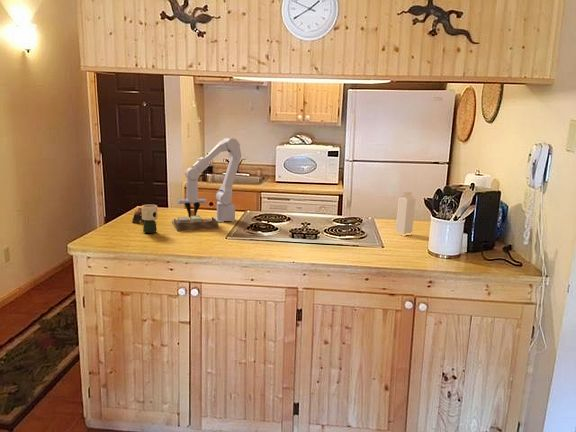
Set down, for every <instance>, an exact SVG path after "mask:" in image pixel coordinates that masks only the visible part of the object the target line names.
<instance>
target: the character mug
mask: <svg viewBox="0 0 576 432" xmlns="http://www.w3.org/2000/svg"><path fill="white" fill-rule="evenodd" d="M141 208H142V219H143V220H145V221H144V222H143V227H142V228H143V229H142V232H143V233H148V234H154V233H157V232H158V230H157V223H156V220H158V205H156V204H143V205H141Z"/></svg>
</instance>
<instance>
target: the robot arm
mask: <svg viewBox="0 0 576 432" xmlns="http://www.w3.org/2000/svg"><path fill="white" fill-rule="evenodd" d="M222 152H228V155H229V156H230V158H229V161H228V164H227V168H226V172H225V175H224V178H223V181H222V185H221V186H219V188H218V190H217V192H216V194H215V199H216V201H217V202H216V217H214V219H215V220H216V221H218V223H223V222H224V221H232V222H236V206H235V204H234V203H232V202H233V189H232V188H233V185H234V182H235V179H236V175H237V172H238V168H239V166H240V165H239V164H240V162H241V158H242V151H241V143H240V142H239V141H238V140H237V139H236V138H234V137H230V136H225V137H224V138H222V139H221V140H220V141H218V143H217V144H216V145H215V146H214V147H213V148H212V149H211V151H209V152H208V153H207V154H206V156H201V157H198V158H197V161H196V162H195V163H193V165H192V164H191V165H190V167H188V168H187V169H186V171H185V173H184V175H185V177H186V198H182V199H177V204H178V205H184V206H185V208H186V211H187V215H188V218H189V219H190V216H191V210H192V209H191V207H192V206H191V204H192V205H193V210H194V211H195V215H194V216H197V212H198V210H199V209H200V206H201V204H207V201H208V200H207V198H199V183H198V181H199V178H200V176H201V175H200V174H202V173H203V172H204V171H205V170H206V169H207V168H208V167H209V166H210V162H211V161H212V160H214V159H215V158H216V157H217V156H218V155H219V154H221V153H222ZM224 223H225V222H224Z"/></svg>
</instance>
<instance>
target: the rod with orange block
mask: <svg viewBox="0 0 576 432" xmlns="http://www.w3.org/2000/svg"><path fill="white" fill-rule="evenodd" d="M194 215H195V211H194V209H191V216H190V218H189V220H190V221H191V222H202V219H203V218H202V217H201V215H196V216H194Z"/></svg>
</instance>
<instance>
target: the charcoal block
mask: <svg viewBox="0 0 576 432" xmlns="http://www.w3.org/2000/svg"><path fill="white" fill-rule="evenodd" d="M188 218H189V217H187V216H177V220H178V223H181V222H189V220H190V218H189V219H188Z"/></svg>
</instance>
